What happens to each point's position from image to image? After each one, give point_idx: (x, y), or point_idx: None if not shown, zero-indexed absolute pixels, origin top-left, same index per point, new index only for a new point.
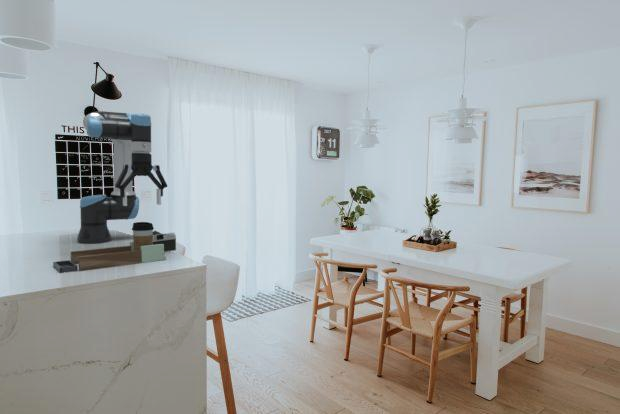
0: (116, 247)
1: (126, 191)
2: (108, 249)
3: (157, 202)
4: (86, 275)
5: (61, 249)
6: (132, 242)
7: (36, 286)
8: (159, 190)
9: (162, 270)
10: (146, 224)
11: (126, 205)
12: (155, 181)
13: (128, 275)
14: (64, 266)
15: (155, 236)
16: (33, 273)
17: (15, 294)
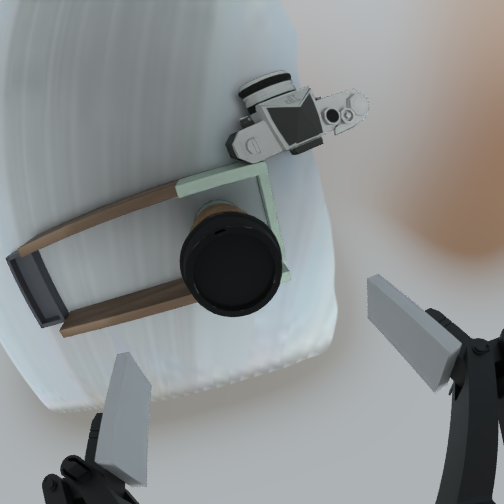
0: (128, 212)
1: (144, 473)
2: (104, 220)
3: (375, 299)
4: (101, 358)
5: (18, 12)
6: (184, 196)
7: (56, 388)
8: (432, 383)
9: (251, 363)
10: (255, 246)
11: (147, 388)
12: (449, 459)
13: (182, 381)
14: (32, 270)
15: (287, 149)
16: (5, 303)
17: (54, 409)
